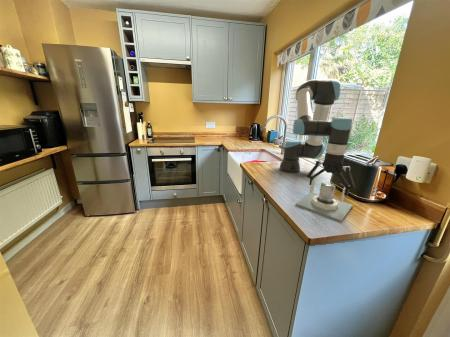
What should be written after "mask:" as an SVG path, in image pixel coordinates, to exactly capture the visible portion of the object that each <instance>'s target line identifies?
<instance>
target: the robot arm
mask: <svg viewBox="0 0 450 337" xmlns="http://www.w3.org/2000/svg"><path fill="white" fill-rule="evenodd" d="M340 96H341V82H340V80H338V79H333V78H328V79H327V78H326V79H309V80H307V81H304V82H302V84H300V85H299V86H298V88H297V89H296V92H295V100H296V101H297V102H296V104H297V107H296V108H297V110H296V112H297V117H296V118H297V119H294V121H293V125H292V127H293V128H292V134H293V135H297V136H307V138H306V139H305V141H303V140H302V139H288V140H286V141H285V142H284V150H283V156H282V161H281V162H280V165H279V170H280V171H282V172H285V173H293V174H294V173H299V172H300V170H301V166H300V159H301V158H302V159H311V160H316V162H315V164H314V166H313V167H312V168H311V170H310V171H309V172H308V173H307V175H306V178H308V179H309V184H308V185H309V186H310V189H309V193H310V192H311V193H312V192H313V193H314V189H315V184H316V178H317V177H318V176H320V175H321V174H322V173H324V172H326V173H327V174H333V175H335V174H336V176H337V177H338V179H339V180H340V182H341V184H342V185H343V186H344V187H343V189H342V193H341V197H340V200H339V201H340V202H344V200H345V198H346V197H347V196H348V195H349V193H350V192H349V191H350V190H353V189H355V188H356V185H355V182H354V179H353V175H352V172H351V169H352V168H351V167H352V166H350V165H348V166H346V165H345V166H344V164H343V163H344V160H345V154H346V151H347V147H348V141H349V138H350V134H351V130H352V127H353V118H352V117H340V116H339V117H338V116H337V117H336V116H335V117H332V120H328V116H329V112H330V109H331V106H333V105H334V104H335V101H338V100H339V98H340ZM312 101H313V103H312ZM313 104H314V105H315V107H314V111H313ZM323 137H327V138H328V139H327V140H328V141H327V144H326V149H325V143H324V141H323V140H322V139H323ZM324 150H326V153H325V154H324ZM323 154H324V158H323V159H324V160H323V161H321V157H322V156H323ZM317 159H318V160H317ZM319 159H320V160H319ZM320 166H322V167H323V168H322V169H320V170H319V171H318V172H317V173H315V174H314V172H315V171H316V170H317V169H318V168H319V167H320ZM342 170H343V171H344V172H345V175H346V178H345V176H344V174H343V172H342ZM345 196H346V197H345Z"/></svg>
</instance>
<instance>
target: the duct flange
mask: <svg viewBox="0 0 450 337" xmlns="http://www.w3.org/2000/svg"><path fill="white" fill-rule="evenodd" d="M318 198H319V193H316V192H314V191H313V192H312V193H311V192H310V191H309V193H308V194H305V196H304V197H302V198H301V199H299V200H298V201H297V202H296V203H295V206H296V207H299V208H301V209H304V210H307V211H309V212H312V213H315V214H318V215H321V216H323V217H325V218H327V219H331V220H333V221H337V222H339V223H342V222H343V221H344V219H345V218H346V217H347V215H348V213H350V211H351V209H352V208H353V207H354V205H353V204H352V203H349V202H345V201H343V202H340V200H339V199H335V198H333V200H332V204H324V203H321V202H319V201H318Z"/></svg>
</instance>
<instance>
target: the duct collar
mask: <svg viewBox="0 0 450 337" xmlns="http://www.w3.org/2000/svg"><path fill="white" fill-rule="evenodd" d="M320 184H321V185H320V189H319V193H318V194H319V198H318V201H319V202H321V203H324V204H332V200H333V199H334V194H335V190H336V187H337V186H336V185H335V184H333V183H329V182H321V183H320Z"/></svg>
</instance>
